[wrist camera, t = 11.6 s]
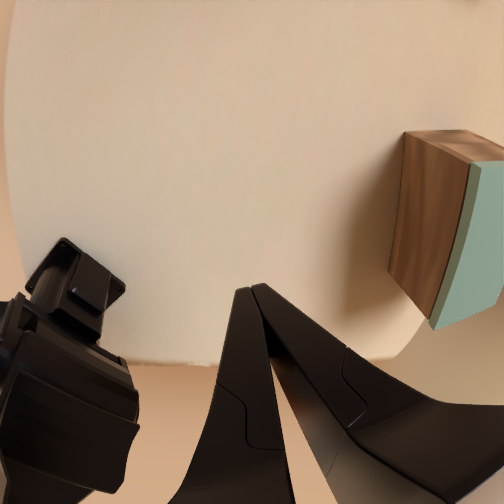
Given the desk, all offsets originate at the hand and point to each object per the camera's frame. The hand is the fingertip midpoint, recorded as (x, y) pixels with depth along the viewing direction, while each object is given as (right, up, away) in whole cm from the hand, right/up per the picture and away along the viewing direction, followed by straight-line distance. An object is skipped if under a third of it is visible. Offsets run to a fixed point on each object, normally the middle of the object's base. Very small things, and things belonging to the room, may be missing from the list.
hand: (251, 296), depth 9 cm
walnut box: (+16, +6, +17) cm, 24 cm away
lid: (+18, +2, +11) cm, 21 cm away
